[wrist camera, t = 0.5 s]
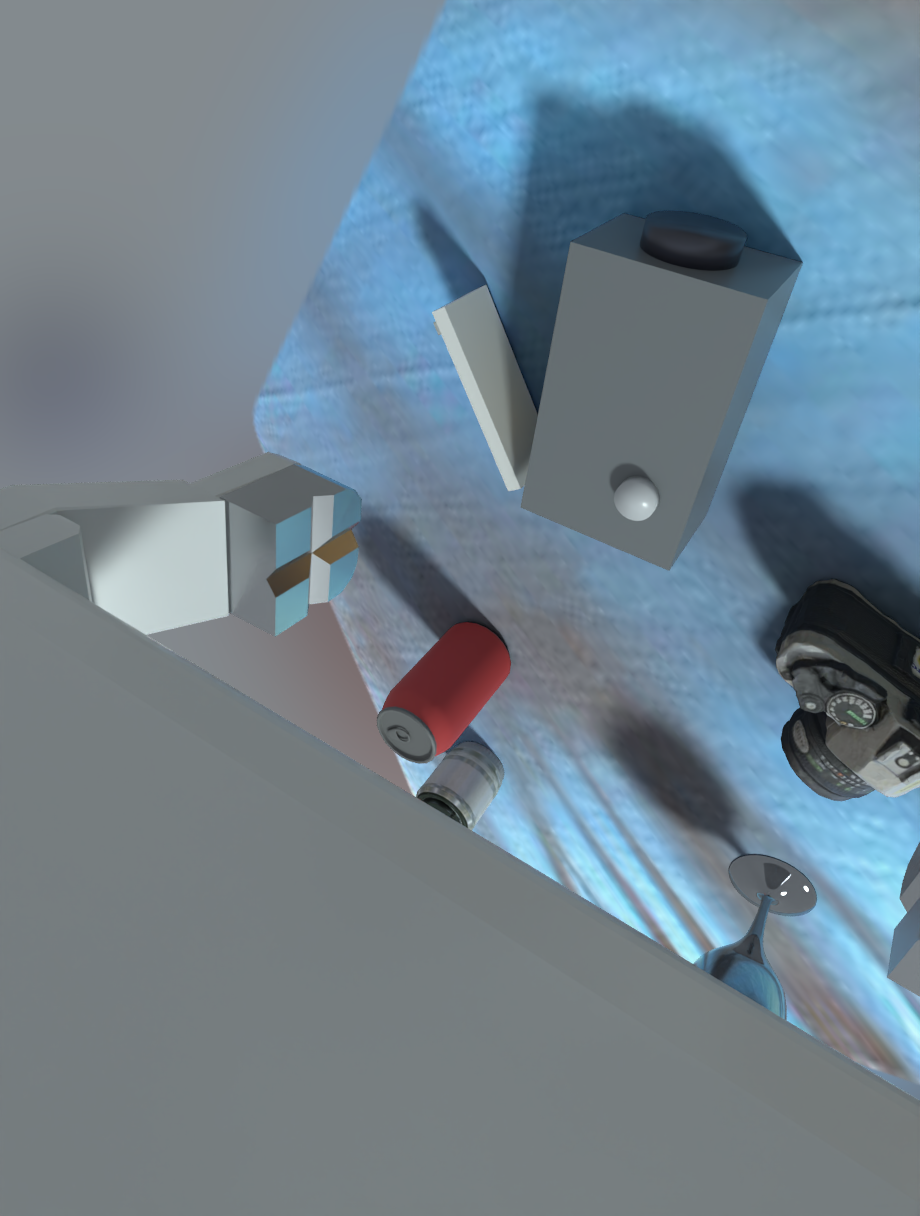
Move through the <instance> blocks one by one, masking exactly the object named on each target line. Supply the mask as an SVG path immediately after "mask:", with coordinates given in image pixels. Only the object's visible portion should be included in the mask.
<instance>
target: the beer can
mask: <svg viewBox="0 0 920 1216" xmlns="http://www.w3.org/2000/svg"><path fill="white" fill-rule="evenodd" d="M510 665H511V661H510V657H509V653H508V650H507V649H506V647H505V645H504V643H503V642H502V641H501V640H500V638H499V637H498V636H497V635H496V634H495V633H493V632H492V631H491V630H489V629H488V628H486V627H484V626H482V625H479V624H476V623H469V622H464V623H459V624H456V625H454V626H453V627H451V628H450V629H449V630H448V631H447V632H446V633H445V634H444V635H443V636H442V637H441V638H440V640H439V641H438V642H437V643H436V644H435V645H434V646H433V647H432V648H431V649H430V650H429V651H428V652H427V653H426V654H425V655H424V656H423V657H422V658H421V660H420V661H419V662H418V663H417V664H416V665H415V666H414V667H413V668H412V669H411V670H410V671H409V672H408V673H407V674H406V675H405V676H404V677H403V679H402V680H401V681H400V682H399V683H398V684H397V685H396V686H395V687H394V688H393V689H392V690H391V691H390V693H389V695H388V697H387V699H386V701H385V703H384V705H383V708H382V710H381V711H380V712H379V714H378V717H377V727H378V729H379V732H380V734H381V736H382V738H383V740H384V741H385V743H386V744H387V745H388V746H389V747H390V748H391V749H392V750H393V751H394V752H395V753H397V754H398V755H399V756H401V757H403V758H405V759H406V760H408V761H411V762H415V763H428V762H430V761H432V760H433V758H434V757H435V756H437V755H439V754H441V753H443V752H445V751H446V750H447V749H449V748H450V747H451V746H452V745H453V744H454V743H455V741H456V740H457V739H458V738H459V736H460V735H461V734H462V733H463V731H464V730H465V729H466V728H467V726H468V725H469V724H470V723H471V721H472V720H473V719H474V718H475V716H476V715H477V714H478V713H479V711H480V710H481V709H482V708H483V706H484V705H485V704H486V703H487V701H488V700H489V699H490V698H491V696H492V695H493V694H494V693H495V691H496V690H497V689H498V688H499V686H500V685H501V684H502V683H503V681H504V680H505V679H506V677H507V676H508V674H509V673H510Z"/></svg>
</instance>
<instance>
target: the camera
mask: <svg viewBox="0 0 920 1216" xmlns="http://www.w3.org/2000/svg"><path fill="white" fill-rule="evenodd" d="M775 650H776V652H777V654H778V655H777V657H776V658H777V659H776V667H777V669H778V672H779V674H780V675H781V677H782V678H783V679H784V680H785V681H786V682H788V683H789V684H790V685H791V686H793V687H794V689H795V691H796V696H797V698H798V701H799V705H800V708H799V709H797V710H796V711H795V712H794V714H793V715H792V717H791V719H790V720H789V721H788V722H786V724H785V725H784V727H783V731H782V736H781V743H782V748H783V751H784V753H785V755H786V757H787V760H788V762H789V764H790V766H791V768H792V769H793V771H794V772H795V773H796V775H797V776H798V777H799V778H800V779H801V780H802V781H803V782H804V783H805V784H806V785H807V786H808V787H809V788H811V789H812V790H813V791H814V792H816V793H817V794H818V795H820V796H823V797H826V798H828V799H831V800H834V801H845V800H848V799H851V798H859V797H862V796H864V795H867V794H868V793H870V792H872V791H874V790H877V791H878V792H880V793H882V794H884V795H885V796H887V797H898V796H901V795H903V794H906V793H907V792H909V791H911V790H912V789H915V788H919V787H920V639H918V638H917V637H915V636H913V635H912V634H910V633H908V632H907V631H905V630H904V629H902V628H901V627H900V626H899V625H898V624H897V623H896V622H895V621H894V620H892V619H890V618H888V617H886V616H885V615H883V614H882V613H881V612H880V611H879V610H878V609H877V608H875V607H874V606H873V605H872V604H871V603H870V602H869V601H868V600H866V599H865V598H864V597H863V596H862V595H861V594H860V593H859V592H858V591H857V590H856V589H855V588H854V587H852V586H850V585H848V584H845V583H843V582H840V581H838V580H835V579H831V580H825V581H817V582H815V583H814V584H813V585H811V586H809V587H808V589H807V591H806V592H805V594H804V595H803V597H802V598H801V599H800V601H799V602H798V603H797V604H795V605H794V606H793V607H792V608H791V610H790V612H789V614H788V617H787V619H786V621H785V626H784V628H783V630H782V633H781V637H780V638H779V639H778V641H777V644H776V648H775Z"/></svg>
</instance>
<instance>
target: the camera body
mask: <svg viewBox="0 0 920 1216" xmlns="http://www.w3.org/2000/svg"><path fill="white" fill-rule="evenodd" d="M746 239H747V235H746V233H745V232H744V231H743V230H742V229H740V228H739V227H737V226H735V225H733V224H731V223H729V222H726V221H724V220H721V219H718V218H714V217H711V216H707V215H702V214H697V213H691V212H683V211H658V212H654V213H651V214H649V215H647V217H646V219H643V218H640V217H636V216H632V215H629V214H625V213H623V214H622V215H620V216H618V217H616V218H614V219H612V220H610V221H608V222H607V223H605V224H603V225H601V226H599V227H597V228H595V229H593V230H592V231H590V232H588V233H586V234H584V235H582V236H580V237H578V238H577V239H575V240H573V241H571V242H570V247H569V253H568V258H567V263H566V269H565V274H564V279H563V285H562V290H561V295H560V301H559V306H558V311H557V316H556V322H555V327H554V332H553V338H552V343H551V348H550V354H549V359H548V364H547V370H546V375H545V380H544V386H543V391H542V396H541V402H540V407H539V412H538V417H537V423H536V428H535V433H534V439H533V444H532V449H531V455H530V460H529V465H528V471H527V476H526V481H525V487H524V492H523V497H522V502H521V508H523V509H526V510H528V511H530V512H533V513H535V514H537V515H540V516H542V517H544V518H547V519H549V520H551V521H554V522H556V523H559V524H561V525H563V526H566V527H568V528H570V529H573V530H575V531H577V532H580V533H582V534H584V535H587V536H589V537H591V538H594V539H596V540H598V541H601V542H603V543H605V544H608V545H610V546H612V547H615V548H617V549H620V550H622V551H624V552H627V553H629V554H631V555H634V556H636V557H638V558H641V559H643V560H645V561H648V562H650V563H652V564H655V565H657V566H659V567H662V568H664V569H666V570H670V569H671V567H672V566H673V564H674V563H675V561H676V560H677V558H678V557H679V555H680V554H681V552H682V551H683V549H684V548H685V546H686V545H687V543H688V542H689V540H690V539H691V537H692V536H693V534H694V533H695V531H696V530H697V528H698V527H699V526H700V524H701V523H702V521H703V520H704V518H705V517H706V514H707V512H708V509H709V506H710V504H711V501H712V499H713V496H714V493H715V491H716V488H717V486H718V483H719V480H720V478H721V475H722V472H723V470H724V467H725V465H726V462H727V459H728V457H729V454H730V452H731V449H732V446H733V444H734V441H735V439H736V436H737V433H738V431H739V428H740V425H741V423H742V420H743V418H744V415H745V412H746V410H747V407H748V405H749V402H750V399H751V397H752V394H753V392H754V389H755V386H756V384H757V381H758V378H759V376H760V373H761V371H762V368H763V365H764V363H765V360H766V358H767V355H768V352H769V350H770V347H771V344H772V342H773V339H774V337H775V334H776V331H777V329H778V326H779V324H780V321H781V318H782V316H783V313H784V311H785V308H786V305H787V303H788V300H789V297H790V295H791V292H792V290H793V287H794V284H795V282H796V279H797V277H798V274H799V271H800V269H801V266H802V264H803V262H800V261H796V260H792V259H789V258H785V257H782V256H778V255H774V254H771V253H767V252H763V251H760V250H756V249H752V248H749V247H745V246H744V245H745V242H746Z"/></svg>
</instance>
